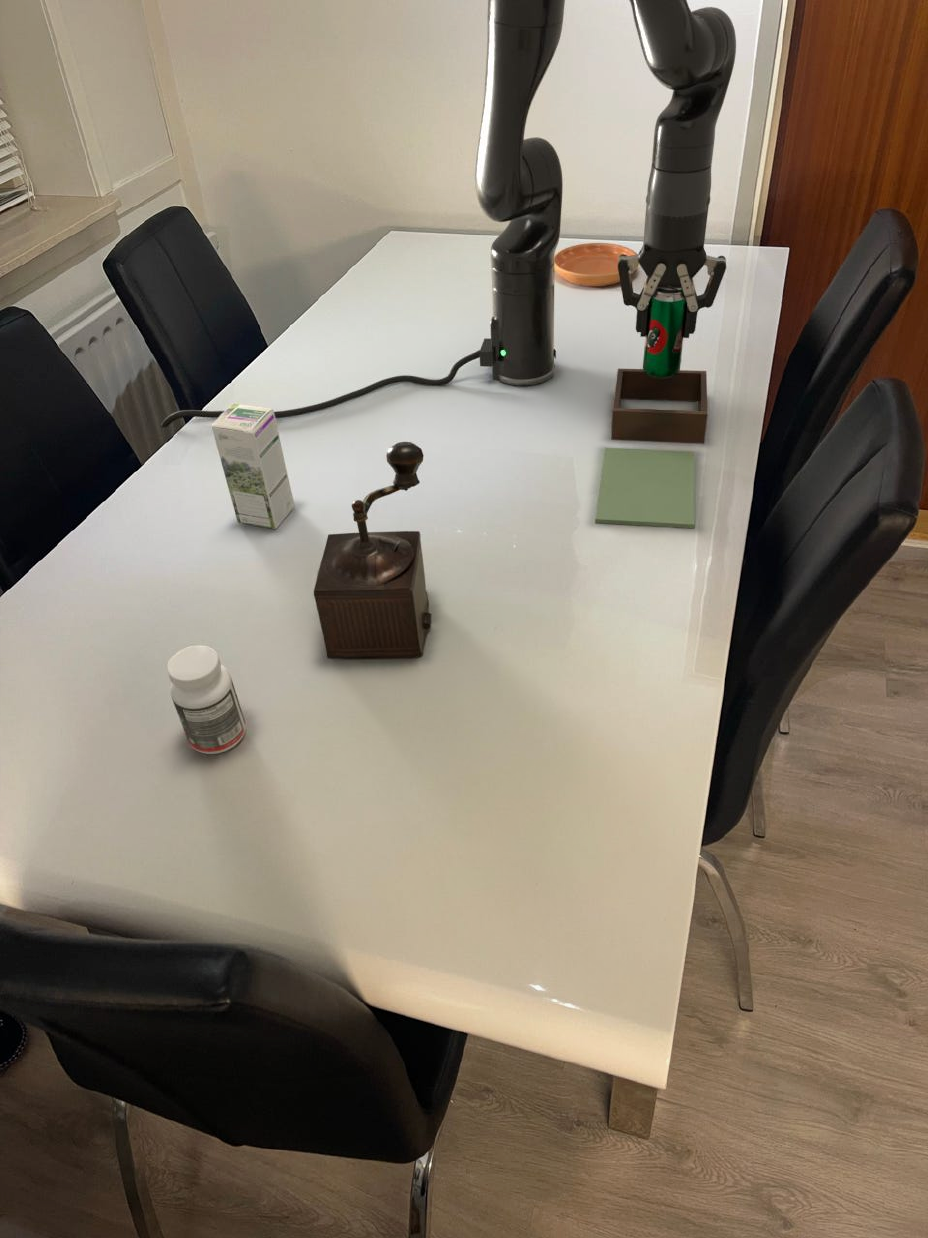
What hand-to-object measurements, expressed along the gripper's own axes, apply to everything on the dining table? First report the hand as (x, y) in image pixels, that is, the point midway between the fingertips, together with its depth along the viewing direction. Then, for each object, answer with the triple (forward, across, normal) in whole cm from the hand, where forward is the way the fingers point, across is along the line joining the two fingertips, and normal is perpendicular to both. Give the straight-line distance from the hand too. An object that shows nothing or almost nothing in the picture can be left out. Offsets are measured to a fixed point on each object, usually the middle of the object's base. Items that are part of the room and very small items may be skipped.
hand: (664, 334), depth 126 cm
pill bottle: (+13, +41, +66) cm, 79 cm away
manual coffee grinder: (+13, +29, +46) cm, 56 cm away
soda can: (+6, 0, 0) cm, 6 cm away
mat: (+12, +1, +18) cm, 22 cm away
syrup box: (+13, +49, +29) cm, 58 cm away
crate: (+13, 0, 0) cm, 13 cm away
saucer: (+14, +12, -54) cm, 57 cm away
